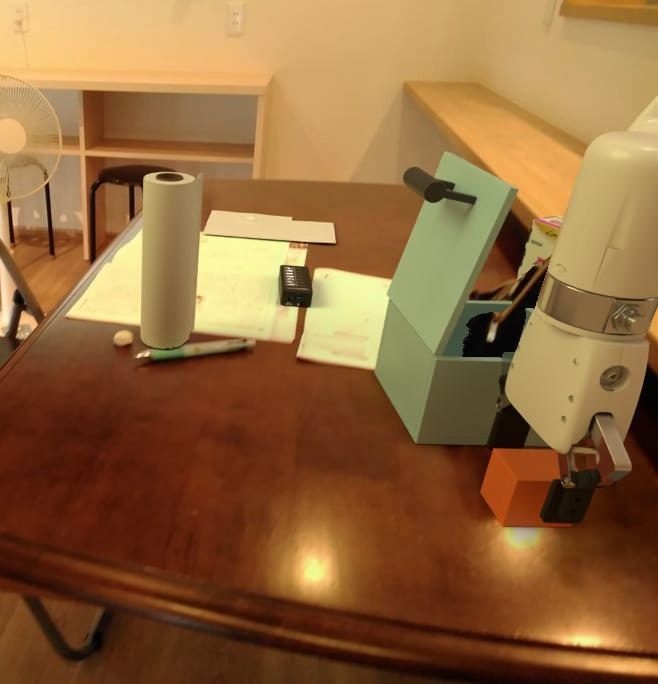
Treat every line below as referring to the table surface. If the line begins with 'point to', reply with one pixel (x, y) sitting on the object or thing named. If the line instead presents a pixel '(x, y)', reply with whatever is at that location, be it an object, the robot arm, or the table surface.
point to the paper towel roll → (169, 257)
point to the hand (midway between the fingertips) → (529, 482)
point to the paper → (268, 227)
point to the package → (520, 485)
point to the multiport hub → (295, 286)
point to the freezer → (442, 381)
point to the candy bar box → (540, 242)
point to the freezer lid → (447, 244)
